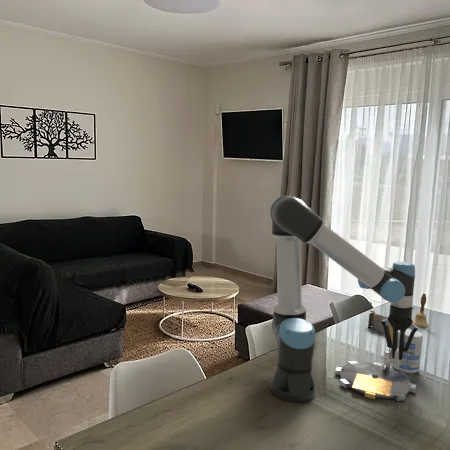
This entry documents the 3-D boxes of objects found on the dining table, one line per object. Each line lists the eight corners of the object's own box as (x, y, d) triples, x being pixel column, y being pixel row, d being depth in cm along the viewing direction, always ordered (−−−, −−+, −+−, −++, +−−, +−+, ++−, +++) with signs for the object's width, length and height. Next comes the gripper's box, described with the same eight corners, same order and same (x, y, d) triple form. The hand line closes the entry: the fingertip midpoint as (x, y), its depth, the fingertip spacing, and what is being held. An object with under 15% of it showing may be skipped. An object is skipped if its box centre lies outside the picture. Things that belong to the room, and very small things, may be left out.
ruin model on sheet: (367, 328, 220) (369, 309, 218) (370, 327, 222) (372, 308, 220) (388, 336, 211) (390, 316, 210) (392, 335, 213) (394, 315, 212)
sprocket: (373, 407, 144) (375, 382, 143) (319, 370, 169) (321, 348, 167) (433, 393, 156) (436, 369, 155) (375, 360, 181) (377, 339, 179)
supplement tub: (403, 375, 170) (407, 337, 168) (387, 364, 179) (391, 328, 177) (424, 373, 173) (428, 336, 171) (407, 362, 182) (411, 327, 180)
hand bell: (430, 324, 231) (433, 293, 229) (427, 328, 224) (431, 297, 222) (412, 320, 235) (416, 290, 233) (409, 324, 228) (413, 293, 226)
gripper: (422, 305, 163) (417, 368, 166) (385, 299, 170) (381, 359, 173) (417, 311, 157) (412, 375, 160) (380, 304, 164) (376, 366, 167)
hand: (396, 367), depth 166 cm, fingers closed
